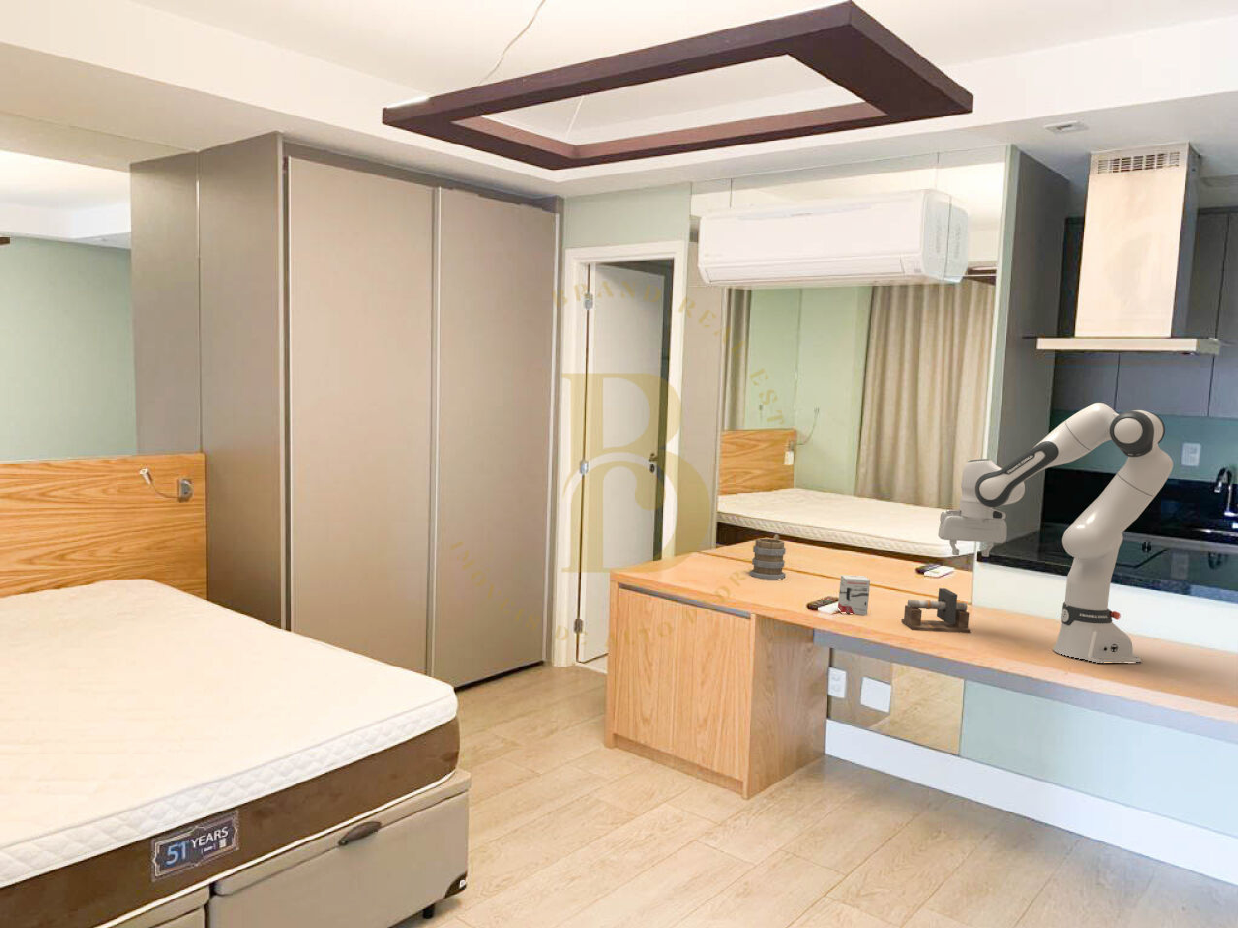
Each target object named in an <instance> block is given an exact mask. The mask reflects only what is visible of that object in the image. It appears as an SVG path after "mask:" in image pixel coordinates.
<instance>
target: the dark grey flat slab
mask: <svg viewBox="0 0 1238 928" xmlns="http://www.w3.org/2000/svg"><path fill="white" fill-rule="evenodd" d="M937 601H941V602H946V610H944V609H936V610H937V612H936V617H937V618H939V619H940V620H941V621H945V622H947V623H949V624H955V615H956V604H957V602H958V594H957V593H955V592H953V591H951V590H949V589H947V588H944V587H943V588H942V587H940V588H939V590H938V598H937Z"/></svg>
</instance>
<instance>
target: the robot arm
mask: <svg viewBox="0 0 1238 928" xmlns="http://www.w3.org/2000/svg"><path fill="white" fill-rule="evenodd" d="M1165 434H1166V425H1165V423H1164V421H1163V420H1162V418H1161V417H1160V416H1159V415H1157V414H1156V413H1153V412H1151V411H1147V410H1143V409H1136V410H1135V409H1134V410H1127V411H1126V410H1125V411H1123V412H1121V413H1118V412H1116V411H1115V409H1113V408H1112V407H1111V406H1109V405H1107V404H1105V403H1102V402H1095V403H1093V404H1091V405H1089V406H1086V407H1084V408H1082V409H1080V410H1079V411H1077V412H1076V413H1074V414H1072V415H1071V416H1070V417H1068V418H1067V419H1065V420H1064V421H1062V422H1061V423H1060V424H1059V425H1057V427H1055V428H1054V429H1053V430H1051V432H1049V433H1048V434H1047V435H1046V436H1045V437H1043V438H1042V439H1041V440H1040V441H1039V442H1037V444H1036V445H1034V446H1033V447H1032V448H1031V449H1029V450H1028V451H1026V452H1025V453H1024V454H1022V455H1021V456H1018V458H1016V459H1015V460H1013V461H1011V463H1009V464H1007V465H1006V466H1004V467H1000V466H998V465H997V464H996V463H994V462H993V461H992V460H991V459H987V458H986V459H984V458H983V459H973V460H969V461H967V462H966V463H965V464H964V468H963V471H962V476H961V482H960V483H961V484H960V486H961V496H960V498H959V505H958V506H959V509H954V510H953V509H952V510H951V509H946V510H944V511H943V512H942V513H940V518H939V519H940V524H939V529H938V533H937V534H938V537H939V539H941V540H944V541H948V542H949V545H950V547H951V550H952V551H951V554H952V555H953V556H959V555H960V549H959V548H957V546H956V545H957V542H958V541H960V542H975V543H978V542H979V543H985V545H986V547H985V549H982V550H981V556H982V557H987V558H988V557H989V556H990V551H991V550H992V549H993V547H994V543H996V544H997V543H998V544H1004V543H1005V541H1006V540H1007V523H1006V521H1005V519H1006V513H1005V512H1003V511H1000V510H998V509H996V508H997V507H1000V506H1007V505H1012V504H1015V503H1018V502H1019V501H1021V500H1022V498H1024V495H1025V493H1026V484H1025V481H1026V480H1028V479H1029V478H1031V477H1032V476H1034V475H1036V474H1037V473H1039V472H1041V471H1043V470H1045V469H1048V468H1051V467H1055V466H1059V465H1063V464H1069V463H1072V462H1074V461H1076V460H1078V459H1081V458H1082V457H1084V456H1086V455H1088V454H1089V453H1091V452H1092V451H1093V450H1095V449H1096V448H1098V447H1099V446H1100V445H1102V444H1103V443H1105V442H1107V441H1111V440H1112V442H1113V444H1115V446H1116V447H1117V448H1118V449H1120V451H1121V452H1122V454H1124V456H1125V457H1127V459H1126V460H1125V463H1124V464H1123V465H1122V467H1121V468H1120V469H1119V470H1118V472H1117V473H1116V474H1115V475H1114V477H1113V478H1112V479H1111V480H1110V482H1109V483H1108V485H1107V486H1106V487H1105V488H1104V490H1103V491H1102V492H1101V493H1100V494H1099V496H1098V497H1097V498H1096V499H1095V500H1093V502H1092V503H1091V504H1089V506H1088V507H1087V508H1086V509H1085V510H1084V511H1083V512H1082V513H1081V514H1080V515H1079V516H1078V517H1077V518H1076V519H1075V520H1074V522H1073V523H1071V524H1070V526H1068V527H1067V529H1066V530H1064V532H1063V534H1062V537H1061V543H1062V547H1063V549H1064V550H1065V551H1064V552H1066V554H1068V555H1069V556H1071V557H1072V558H1073V561H1072V564H1071V567H1070V570H1069V571H1068V573H1067V577H1066V585H1065V594H1064V595H1065V596H1064V602H1062V607H1061V615H1060V617H1061V618H1060V621H1061V624H1060V629H1059V633H1058V637H1057V639H1056V642H1055V644H1054V647H1053V648H1052V649H1053V651H1054V652H1055V653H1057V654H1059V655H1061V654H1062V655H1061V656H1064V655H1065V656H1064V657H1067V656H1069V658H1071V657H1074V658H1073V659H1075V658H1079V659H1078V660H1080V659H1085V660H1089V661H1092V662H1091V663H1093V662H1097V663H1101V662H1102V663H1104V662H1142V660H1141V658H1140V657H1139V656H1138V655H1136V654H1134V653H1133V651H1134V650H1133V649H1134V648H1133V643H1132V640H1131V638H1130V637H1129V636H1128V634H1126V633H1125V632H1124V631H1123V630H1121V628H1119V626H1117V625H1116V624H1115V623H1114V622H1113V619H1114V620H1120V619H1121V617H1122V614H1121V612H1118V611H1115V610H1113V611H1112V610H1111V609H1109V607H1108V606H1109V597H1110V589H1111V582H1112V577H1113V573H1114V570H1115V566H1116V564H1117V559H1118V555H1119V550H1120V547H1121V545H1122V542H1123V539H1124V537H1123V532H1125V530H1126V529H1127V528H1129V527H1130V526H1131V525H1132V524H1133V523H1134V522H1135V521H1136V520H1137V519H1138V518H1139V517H1140V515H1142V513H1143V512H1144V511H1145V509H1146V508H1147V507H1148V506H1149V504H1150V503H1151V502H1152V501H1153V500H1154V498H1156V496H1157V494H1158V493H1159V492H1160V491H1161V489H1162V488H1163V487H1164V485H1165V483H1166V482H1167V480H1168V478H1169V476H1170V475H1171V473H1172V471H1173V469H1174V468H1173V467H1174V462H1173V459H1172V457H1171V456H1170V455H1169V454H1168V453H1166V452H1165V451H1164V450H1162V449H1161V448H1160V446H1159V443H1161V442H1162V441H1163V439H1164V437H1165ZM1085 660H1084V661H1085ZM1089 661H1088V662H1089ZM1097 663H1096V664H1097Z"/></svg>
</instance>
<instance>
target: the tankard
mask: <svg viewBox="0 0 1238 928" xmlns="http://www.w3.org/2000/svg"><path fill="white" fill-rule="evenodd" d="M752 547H753V548H752V549H753V550H752V552H753V553H754V557H753V558H752V559H751V560H752V562H751V565H753V568H752V570H749V573H748V574H749V576H751V577H752V578H755V579H758V580H759V579H760V580H765V579H766V581H779V580H778V579H782V578H784V577H785V578H786V573H785V572H783V568H784V567H785V564H786V563H785V562H786V561H785V560H784V556H785V555H786V547H785V541H783V540H780V536H779V534H777V533H775V534H774V536H773V538H765V537H764V538H763V537H762V538H756V539H755V543H754V545H753V546H752ZM785 578H784V579H785ZM782 580H783V579H782Z"/></svg>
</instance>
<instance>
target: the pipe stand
mask: <svg viewBox="0 0 1238 928" xmlns="http://www.w3.org/2000/svg"><path fill="white" fill-rule="evenodd" d="M922 609H926V610H937V609H944V610H946V602H941V601H938V600H921V599H908V600H907V605H905V606H904V616H903V618H901V621H900V622H901V623H902V624H904V625H905V626H907V627H908V628H909V629H911V630H912V631H920V632H921V631H922V632H923V631H925V632H943V633H944V632H945V633H960V632H962V633H965V634H971V633H972V630H971V629H970V628H969V622H970V612H969V611H967V610H968V603H967V602H959V601H957V604H956V615H955V624H949V623H947V622H945V621H944V620H933V619H931V620H930V619H922V612H923V611H922Z"/></svg>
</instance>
